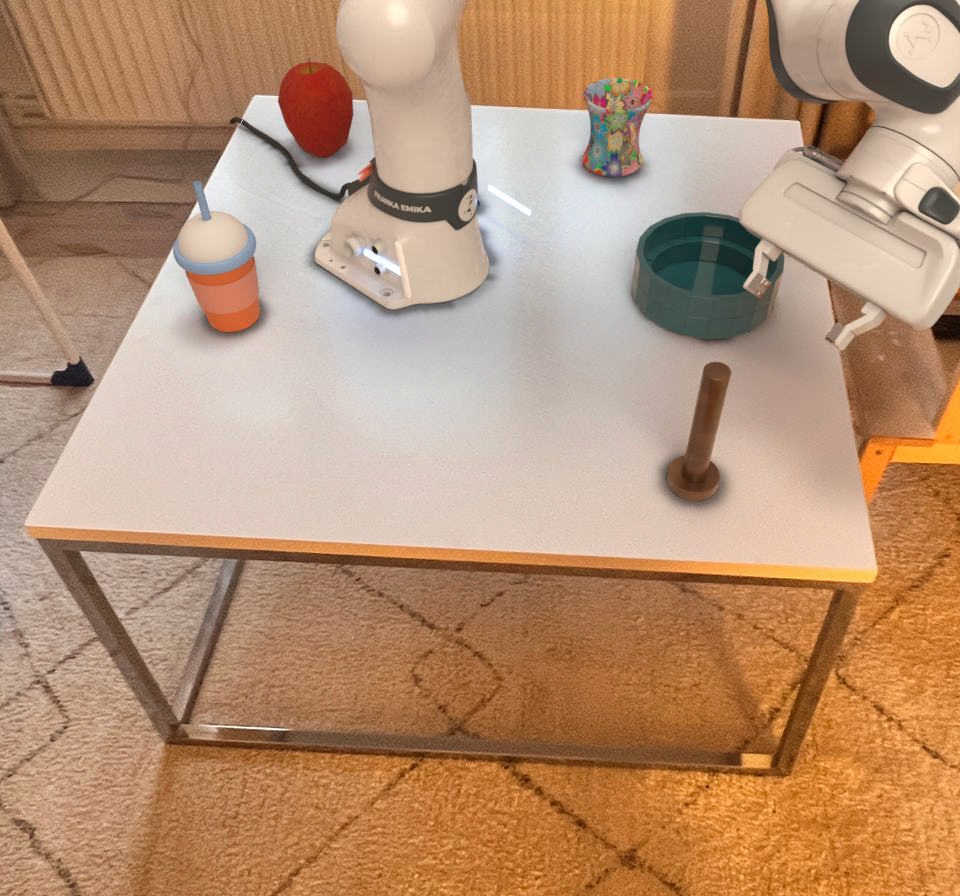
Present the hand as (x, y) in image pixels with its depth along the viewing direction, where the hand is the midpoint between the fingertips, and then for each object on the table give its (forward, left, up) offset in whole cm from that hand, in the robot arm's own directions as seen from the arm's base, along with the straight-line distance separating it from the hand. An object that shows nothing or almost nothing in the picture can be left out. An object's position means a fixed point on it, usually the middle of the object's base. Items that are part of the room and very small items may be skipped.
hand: (790, 318), depth 84 cm
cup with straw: (-60, -14, -16) cm, 64 cm away
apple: (-75, +21, -16) cm, 80 cm away
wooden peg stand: (-3, -9, -16) cm, 19 cm away
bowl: (-14, +18, -16) cm, 28 cm away
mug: (-36, +38, -16) cm, 55 cm away
